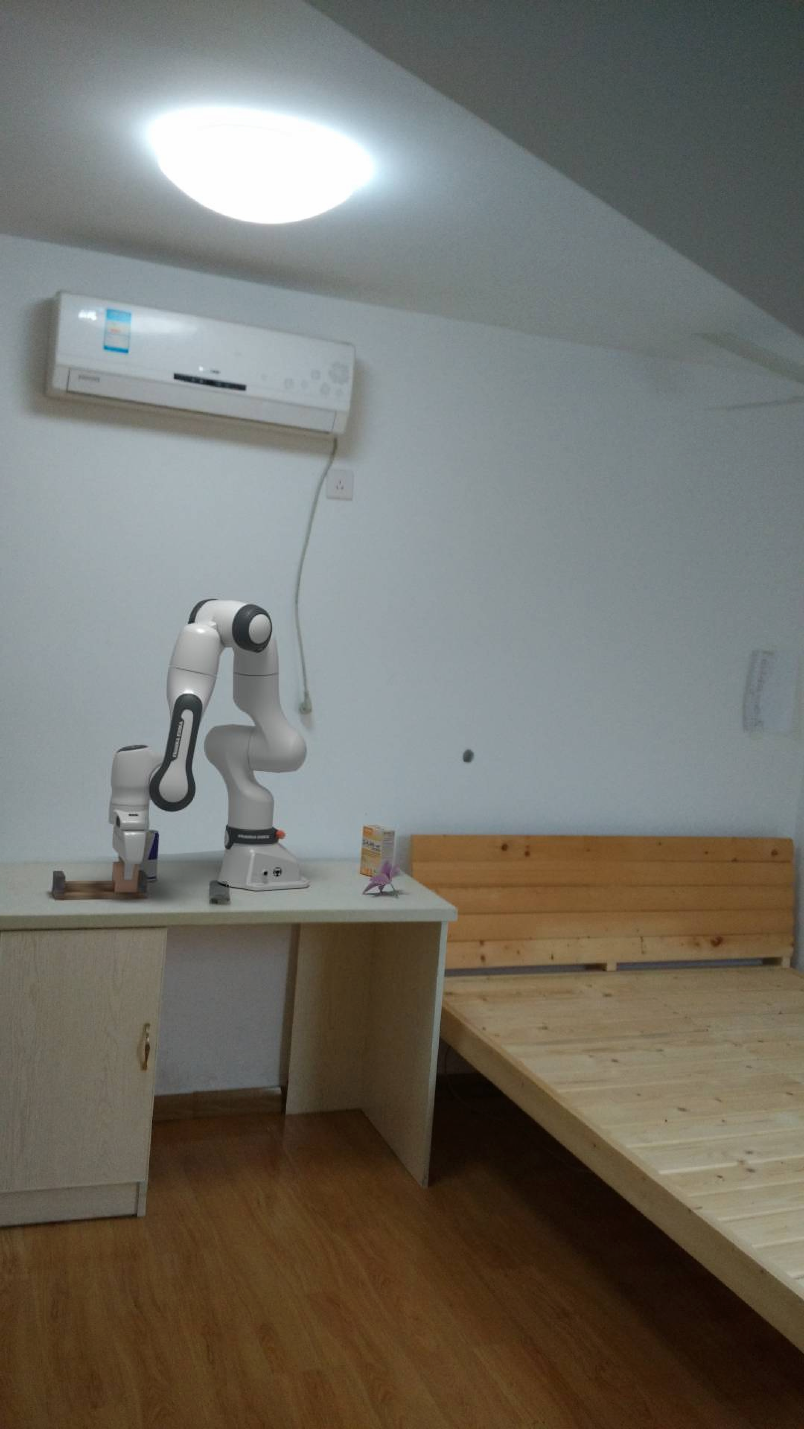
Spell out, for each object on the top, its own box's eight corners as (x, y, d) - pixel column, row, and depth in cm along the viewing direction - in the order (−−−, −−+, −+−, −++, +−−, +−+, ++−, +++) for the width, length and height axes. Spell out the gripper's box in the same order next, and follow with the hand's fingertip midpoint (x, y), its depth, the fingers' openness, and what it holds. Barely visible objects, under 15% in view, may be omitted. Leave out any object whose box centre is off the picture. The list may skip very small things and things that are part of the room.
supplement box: (358, 873, 297) (362, 825, 297) (372, 872, 301) (375, 824, 300) (378, 879, 291) (382, 830, 291) (392, 878, 295) (395, 829, 294)
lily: (406, 895, 280) (391, 860, 282) (424, 887, 270) (409, 850, 271) (365, 912, 274) (350, 876, 276) (381, 904, 264) (366, 866, 266)
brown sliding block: (133, 887, 257) (135, 861, 257) (137, 892, 253) (138, 865, 252) (111, 887, 255) (112, 861, 255) (114, 892, 251) (116, 866, 250)
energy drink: (160, 880, 272) (164, 831, 271) (144, 883, 267) (147, 833, 266) (145, 876, 275) (148, 828, 274) (129, 879, 270) (132, 830, 269)
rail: (140, 890, 260) (142, 869, 259) (147, 898, 252) (148, 876, 252) (51, 891, 252) (52, 870, 251) (55, 900, 244) (56, 877, 244)
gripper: (107, 808, 261) (104, 866, 262) (121, 823, 243) (118, 885, 243) (134, 808, 264) (131, 866, 265) (150, 823, 245) (147, 885, 246)
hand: (125, 875), depth 254 cm, fingers closed on brown sliding block, 5 cm apart
